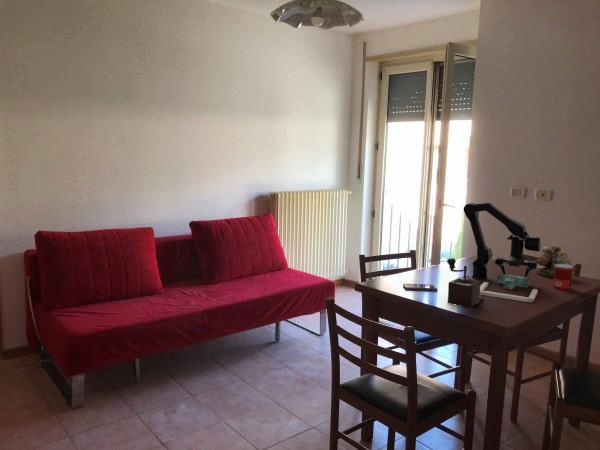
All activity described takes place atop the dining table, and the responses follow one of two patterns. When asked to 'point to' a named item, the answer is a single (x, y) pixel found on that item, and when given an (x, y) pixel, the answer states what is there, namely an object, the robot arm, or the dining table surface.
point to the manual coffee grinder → (462, 288)
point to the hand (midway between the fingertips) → (514, 279)
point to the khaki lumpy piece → (551, 260)
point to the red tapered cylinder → (562, 276)
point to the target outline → (506, 296)
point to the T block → (512, 281)
